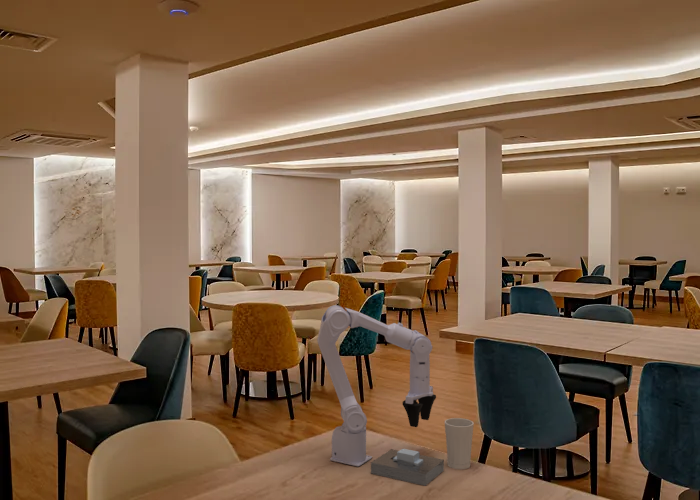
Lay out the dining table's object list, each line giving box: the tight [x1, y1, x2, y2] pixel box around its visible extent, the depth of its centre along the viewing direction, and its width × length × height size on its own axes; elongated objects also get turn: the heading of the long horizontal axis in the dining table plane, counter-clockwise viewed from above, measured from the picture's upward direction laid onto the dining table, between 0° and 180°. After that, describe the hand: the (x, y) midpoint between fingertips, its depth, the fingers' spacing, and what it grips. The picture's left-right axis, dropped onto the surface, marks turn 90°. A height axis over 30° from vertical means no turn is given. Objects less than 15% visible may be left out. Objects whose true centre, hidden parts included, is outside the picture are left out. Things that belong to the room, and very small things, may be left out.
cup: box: [444, 417, 475, 470], centre depth 174 cm, size 8×8×12 cm
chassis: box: [370, 448, 445, 486], centre depth 169 cm, size 16×12×3 cm
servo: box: [393, 448, 423, 466], centre depth 169 cm, size 8×3×6 cm, turn 58°
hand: (419, 422), depth 180 cm, fingers open, 7 cm apart
